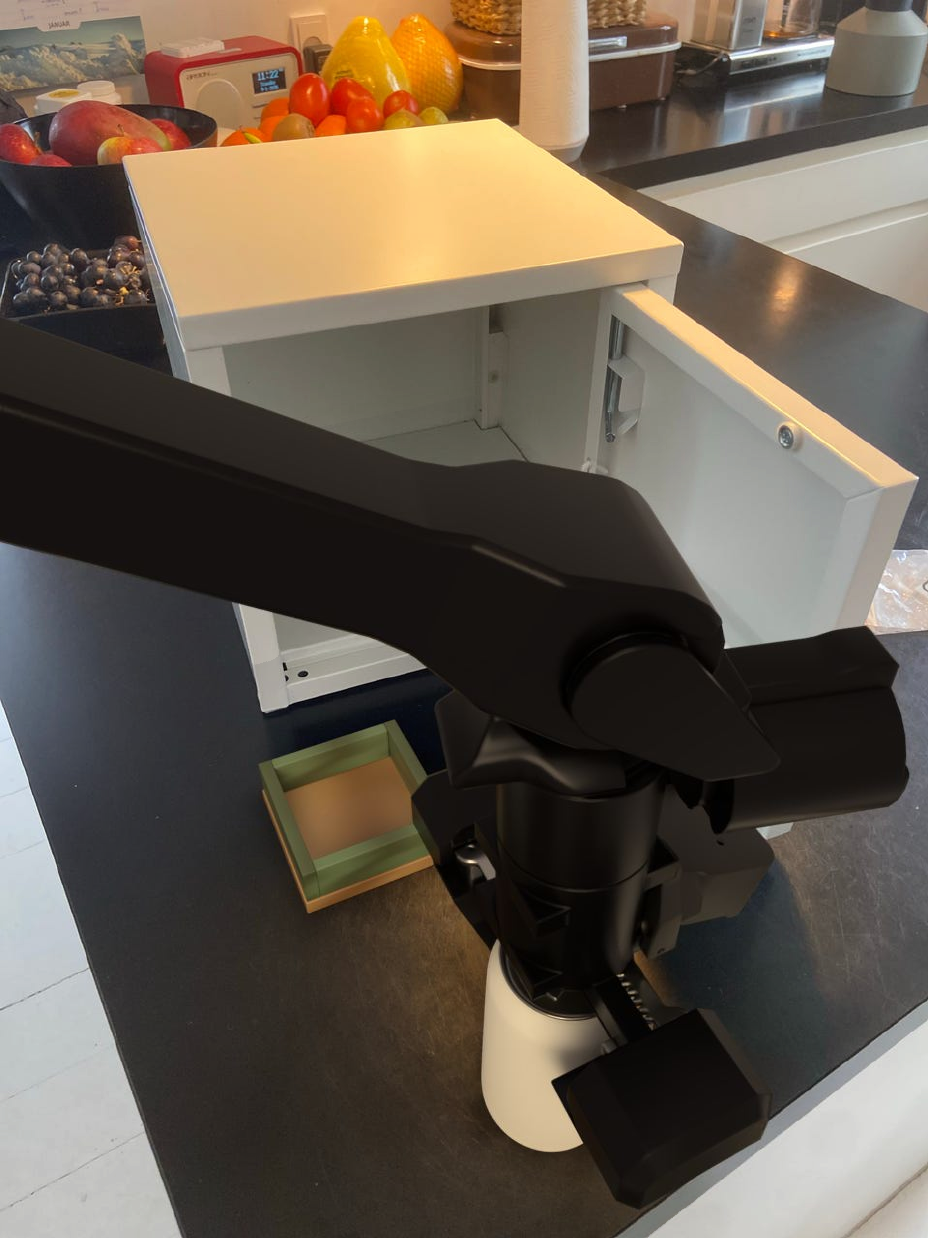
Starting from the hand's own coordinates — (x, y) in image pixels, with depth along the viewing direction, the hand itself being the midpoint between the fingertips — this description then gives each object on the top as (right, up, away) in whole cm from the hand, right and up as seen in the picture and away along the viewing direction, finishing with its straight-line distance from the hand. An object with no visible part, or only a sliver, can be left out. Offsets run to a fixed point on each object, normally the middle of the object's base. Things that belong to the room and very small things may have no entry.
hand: (555, 1036), depth 42 cm
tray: (-11, +6, +15) cm, 20 cm away
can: (0, -4, +3) cm, 5 cm away
